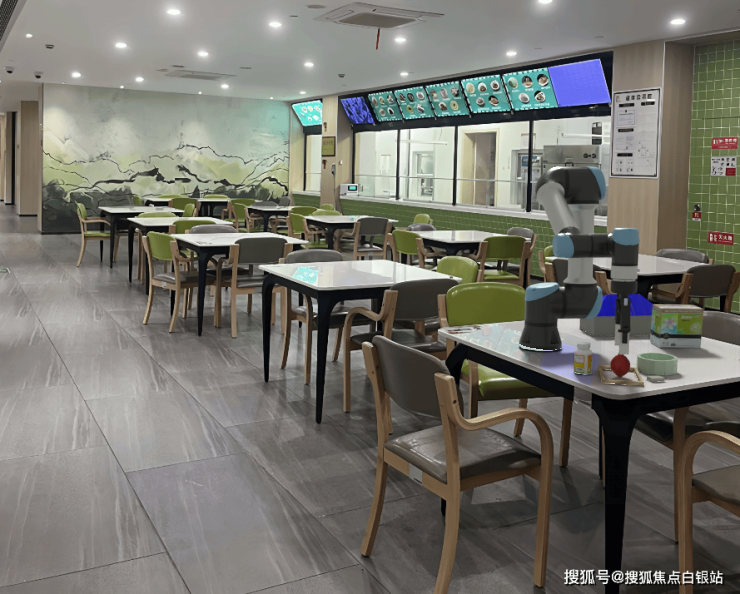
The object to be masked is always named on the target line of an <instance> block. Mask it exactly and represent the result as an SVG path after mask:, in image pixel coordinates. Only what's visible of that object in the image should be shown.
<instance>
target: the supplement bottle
mask: <svg viewBox="0 0 740 594" xmlns="http://www.w3.org/2000/svg"><path fill="white" fill-rule="evenodd" d="M576 347H577V348H576V349H575V350H574V352H573V353H574V354H573V355H574V356H573V357H574V358H573V360H574V361H573V373H574V372H576V373H580V374H590V375H592V374H591V373H593V372H592V371H593V350H591V343H590V341H589V342H588V341H579V342H577V343H576Z"/></svg>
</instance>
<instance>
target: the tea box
mask: <svg viewBox="0 0 740 594" xmlns="http://www.w3.org/2000/svg"><path fill="white" fill-rule="evenodd" d="M652 305H653V308H652V321H651V334H650V335H649V336H650V338H649V343H651V344H652V345H653V346H655V347H657V348H659V349H660V348H683V349H687V348H688V349H701V348H702V346H701V345H702V338H703V337H702V335H703V323H704V321H703V320H704V313H705V312H704V311H705V310H704V308H701V307H699V306H697V305H694V304H670V303H669V304H667V303H666V304H665V303H664V304H662V303H659V304H658V303H657V304H655V303H654V304H653V303H652Z"/></svg>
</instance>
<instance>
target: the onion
mask: <svg viewBox="0 0 740 594" xmlns="http://www.w3.org/2000/svg"><path fill="white" fill-rule="evenodd" d="M617 353H618V354H616V355H614V356H613V357H612V359H611V360H610V364H609V366H610V367H611V370H610V371H612V373H613V374H614V375H615V376H616V377H618V378H622V377H624V376H625V375H627V374H628V373H629V372H630V371H629V370H630V367H631V362H630V360H629V358H628V356H626V354H619V352H617Z"/></svg>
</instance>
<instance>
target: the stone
mask: <svg viewBox="0 0 740 594" xmlns="http://www.w3.org/2000/svg"><path fill="white" fill-rule="evenodd" d="M646 380H647V381H648V380H649V381H648V382H650V381H651V382H650V383H658V382H657V381H665V380H666V378H665V377H664V376H662V375H647V376H646ZM665 382H666V381H665Z"/></svg>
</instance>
